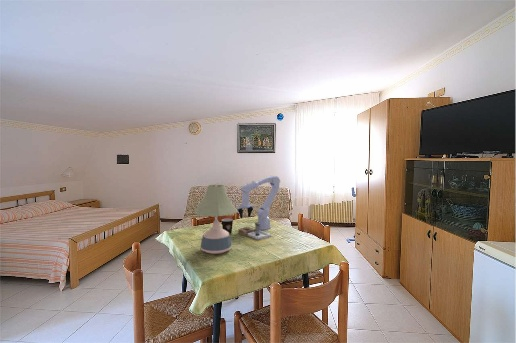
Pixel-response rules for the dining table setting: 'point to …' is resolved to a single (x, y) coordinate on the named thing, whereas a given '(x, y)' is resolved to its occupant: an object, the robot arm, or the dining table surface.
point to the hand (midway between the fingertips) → (245, 217)
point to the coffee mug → (227, 225)
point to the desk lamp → (216, 219)
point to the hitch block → (245, 231)
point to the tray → (261, 236)
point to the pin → (257, 228)
